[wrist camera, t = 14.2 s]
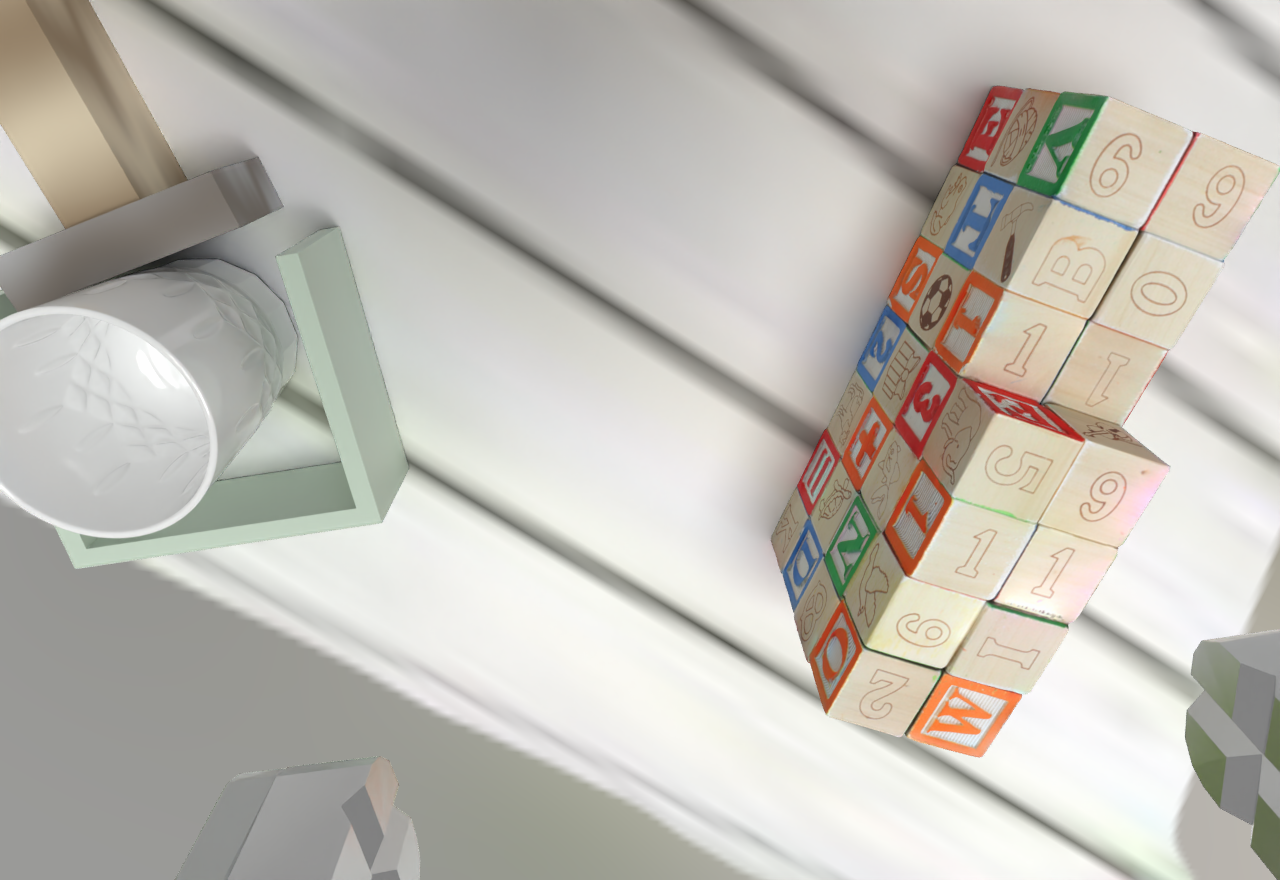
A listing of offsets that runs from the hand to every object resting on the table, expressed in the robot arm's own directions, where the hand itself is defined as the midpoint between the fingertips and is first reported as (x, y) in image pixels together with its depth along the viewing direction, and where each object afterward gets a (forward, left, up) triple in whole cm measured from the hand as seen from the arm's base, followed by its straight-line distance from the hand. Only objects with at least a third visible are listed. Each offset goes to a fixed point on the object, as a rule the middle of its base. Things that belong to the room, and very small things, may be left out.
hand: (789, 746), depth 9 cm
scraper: (-9, -20, -29) cm, 37 cm away
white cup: (+2, -19, -29) cm, 35 cm away
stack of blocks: (+7, +11, -30) cm, 32 cm away
